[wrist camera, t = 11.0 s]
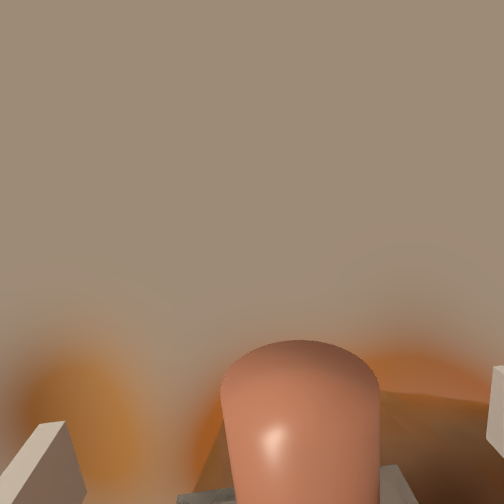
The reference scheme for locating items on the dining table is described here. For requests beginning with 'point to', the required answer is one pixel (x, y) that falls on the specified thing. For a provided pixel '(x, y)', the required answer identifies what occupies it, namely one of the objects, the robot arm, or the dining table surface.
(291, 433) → the salmon orange cylinder
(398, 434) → the dining table surface
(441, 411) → the dining table surface
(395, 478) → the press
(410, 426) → the dining table surface
